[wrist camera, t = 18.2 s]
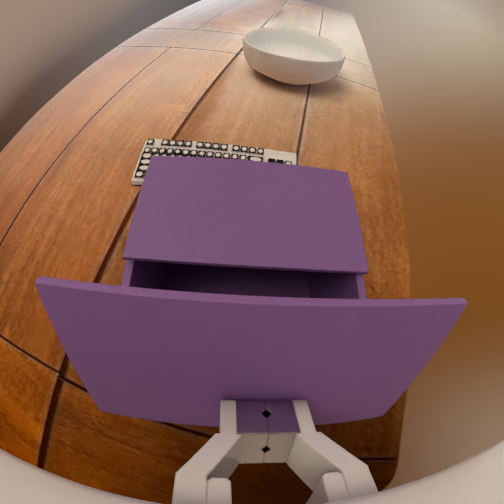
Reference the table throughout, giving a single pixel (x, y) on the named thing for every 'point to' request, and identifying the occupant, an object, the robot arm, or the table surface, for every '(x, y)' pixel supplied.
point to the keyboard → (204, 154)
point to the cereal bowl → (292, 55)
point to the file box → (245, 230)
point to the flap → (242, 349)
